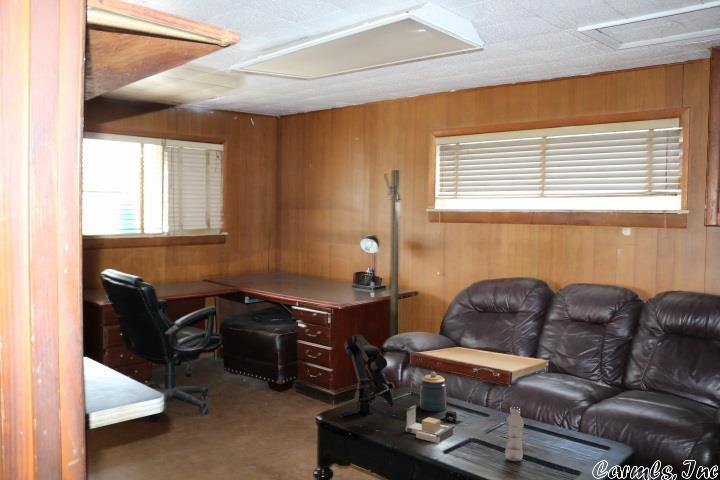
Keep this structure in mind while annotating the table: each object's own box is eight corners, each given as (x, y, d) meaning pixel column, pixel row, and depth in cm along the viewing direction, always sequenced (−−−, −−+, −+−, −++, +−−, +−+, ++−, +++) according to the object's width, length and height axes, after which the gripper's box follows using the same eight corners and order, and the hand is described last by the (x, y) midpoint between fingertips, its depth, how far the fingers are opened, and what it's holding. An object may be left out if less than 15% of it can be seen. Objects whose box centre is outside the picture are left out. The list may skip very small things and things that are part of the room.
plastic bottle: (502, 456, 233) (503, 406, 232) (519, 456, 233) (520, 405, 233) (508, 463, 226) (509, 411, 226) (525, 463, 227) (526, 411, 226)
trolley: (404, 432, 259) (405, 409, 259) (414, 426, 266) (415, 404, 266) (437, 440, 250) (438, 416, 250) (447, 434, 257) (447, 411, 257)
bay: (416, 437, 252) (416, 430, 252) (432, 428, 264) (432, 420, 264) (438, 443, 246) (438, 435, 246) (454, 433, 258) (454, 425, 258)
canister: (415, 404, 298) (416, 369, 297) (440, 402, 301) (440, 368, 300) (424, 412, 285) (425, 376, 285) (450, 411, 288) (450, 374, 288)
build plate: (466, 422, 273) (466, 413, 273) (458, 427, 267) (458, 417, 267) (443, 417, 281) (443, 407, 281) (434, 421, 275) (435, 411, 275)
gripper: (366, 381, 282) (381, 412, 277) (356, 383, 264) (372, 416, 260) (386, 370, 280) (402, 401, 276) (377, 371, 263) (394, 404, 258)
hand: (392, 406), depth 268 cm, fingers closed
